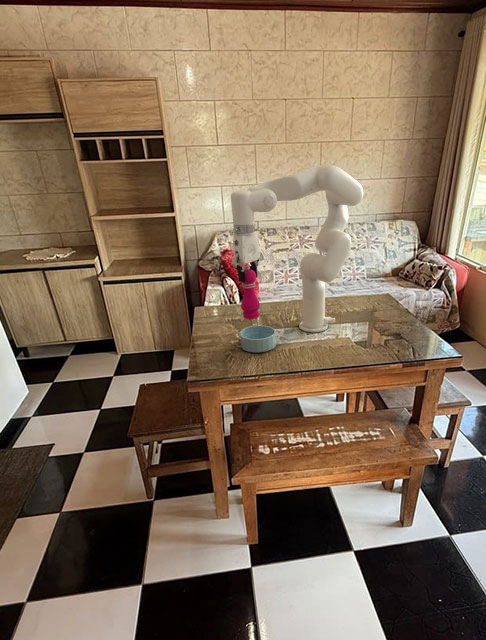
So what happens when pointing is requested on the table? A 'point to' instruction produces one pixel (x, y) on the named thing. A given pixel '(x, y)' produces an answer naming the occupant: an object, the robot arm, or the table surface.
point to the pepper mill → (250, 296)
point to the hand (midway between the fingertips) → (248, 278)
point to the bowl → (258, 338)
